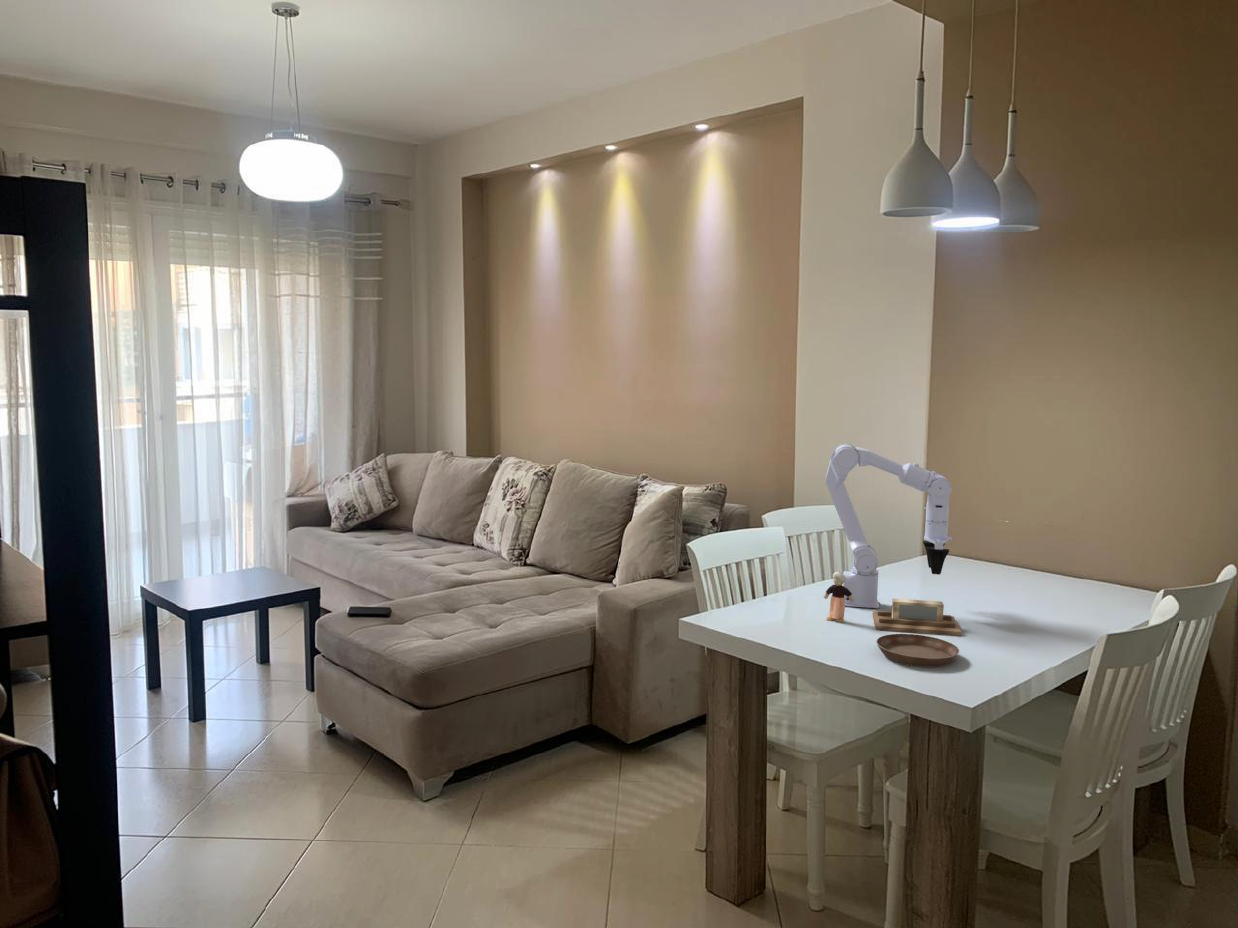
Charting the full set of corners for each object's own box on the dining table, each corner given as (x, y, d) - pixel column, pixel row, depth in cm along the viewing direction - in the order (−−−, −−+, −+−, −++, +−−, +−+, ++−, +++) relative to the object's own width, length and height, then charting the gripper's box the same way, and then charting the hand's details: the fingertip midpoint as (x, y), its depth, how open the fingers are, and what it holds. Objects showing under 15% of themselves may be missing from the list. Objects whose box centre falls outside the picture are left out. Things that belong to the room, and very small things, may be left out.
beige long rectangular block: (892, 621, 228) (893, 601, 228) (891, 617, 231) (892, 598, 231) (942, 624, 226) (943, 604, 225) (941, 621, 229) (942, 601, 228)
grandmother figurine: (821, 620, 232) (822, 572, 230) (823, 616, 235) (825, 568, 234) (852, 624, 229) (854, 574, 227) (854, 620, 232) (855, 571, 231)
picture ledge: (875, 629, 224) (875, 621, 224) (872, 614, 238) (872, 607, 238) (961, 635, 220) (961, 627, 220) (953, 620, 233) (953, 612, 233)
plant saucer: (940, 645, 213) (941, 632, 213) (971, 671, 196) (972, 657, 195) (865, 645, 213) (866, 632, 212) (890, 671, 195) (890, 657, 195)
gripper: (956, 526, 233) (953, 577, 235) (949, 516, 247) (946, 565, 249) (927, 524, 235) (925, 576, 236) (922, 515, 249) (919, 564, 250)
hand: (934, 570), depth 243 cm, fingers open, 7 cm apart
